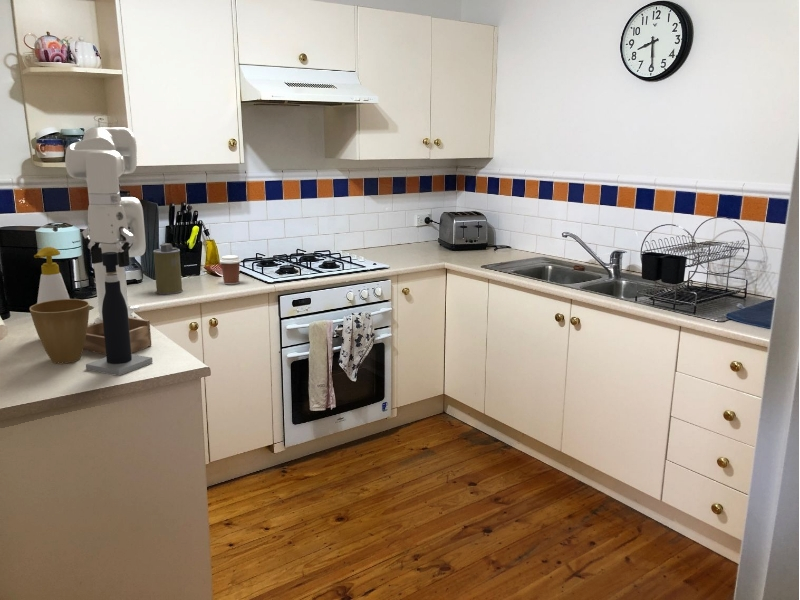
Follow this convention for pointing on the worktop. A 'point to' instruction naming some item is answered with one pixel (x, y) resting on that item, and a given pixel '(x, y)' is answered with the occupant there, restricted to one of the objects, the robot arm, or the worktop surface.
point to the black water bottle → (115, 315)
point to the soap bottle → (50, 278)
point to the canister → (167, 270)
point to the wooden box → (138, 336)
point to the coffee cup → (230, 269)
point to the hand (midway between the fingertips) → (110, 264)
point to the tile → (119, 365)
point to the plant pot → (62, 327)
